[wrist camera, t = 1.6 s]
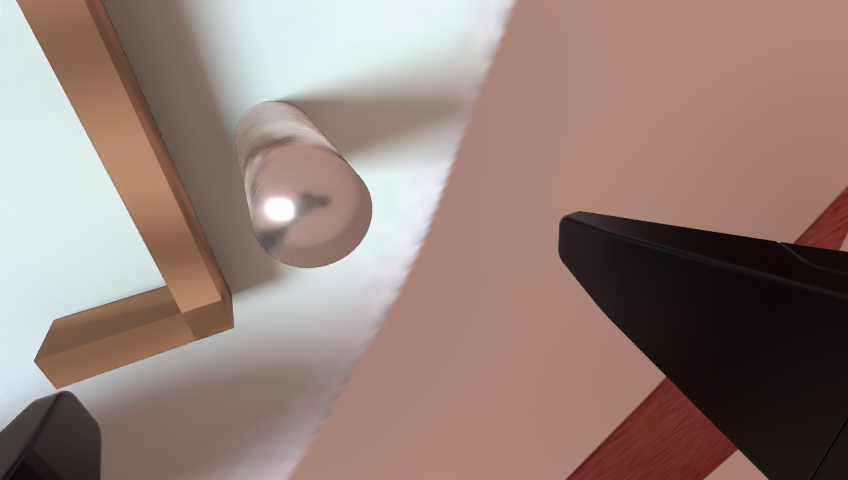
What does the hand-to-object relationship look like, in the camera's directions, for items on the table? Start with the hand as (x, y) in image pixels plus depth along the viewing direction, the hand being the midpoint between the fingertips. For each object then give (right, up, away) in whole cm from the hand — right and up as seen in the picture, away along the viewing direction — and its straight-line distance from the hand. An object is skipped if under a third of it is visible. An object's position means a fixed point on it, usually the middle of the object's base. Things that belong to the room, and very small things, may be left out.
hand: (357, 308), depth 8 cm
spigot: (-5, +5, +10) cm, 13 cm away
